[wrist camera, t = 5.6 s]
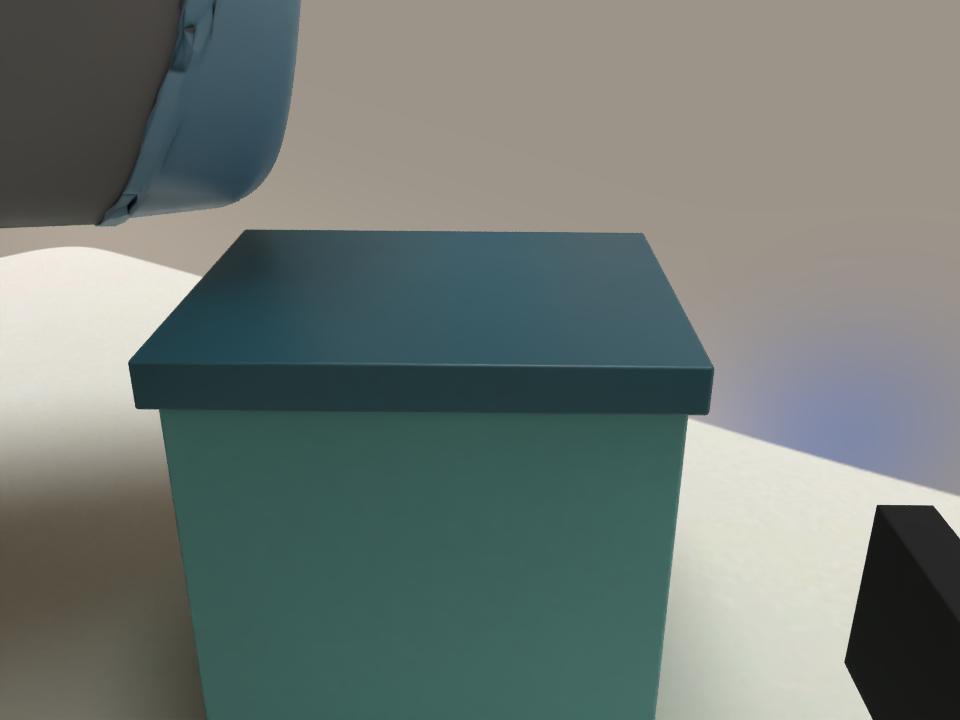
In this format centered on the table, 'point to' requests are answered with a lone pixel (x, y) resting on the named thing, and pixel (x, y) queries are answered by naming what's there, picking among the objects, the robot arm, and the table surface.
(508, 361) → the teal box
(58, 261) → the table surface
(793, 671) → the table surface
